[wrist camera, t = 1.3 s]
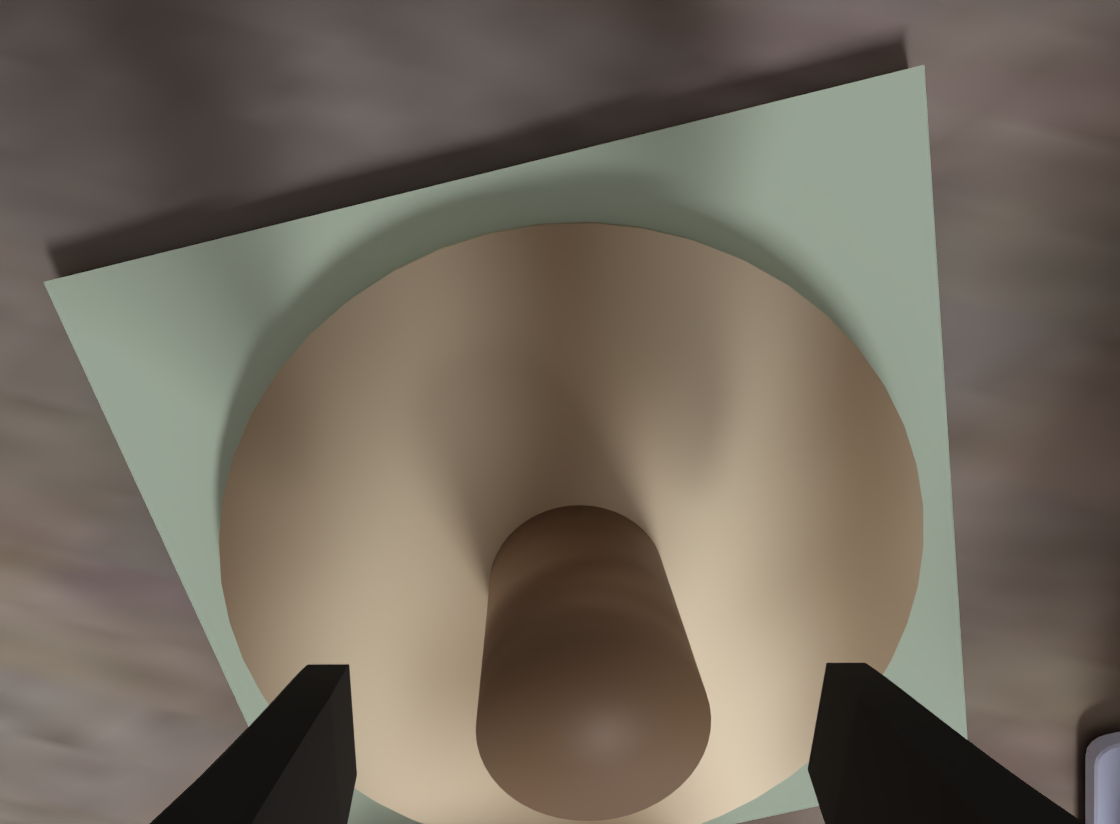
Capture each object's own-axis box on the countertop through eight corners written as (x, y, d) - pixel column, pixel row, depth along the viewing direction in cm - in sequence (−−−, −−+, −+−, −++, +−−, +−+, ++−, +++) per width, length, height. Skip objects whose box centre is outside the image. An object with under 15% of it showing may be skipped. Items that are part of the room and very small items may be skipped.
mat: (909, 68, 13) (924, 64, 13) (958, 757, 18) (969, 773, 18) (60, 278, 14) (42, 282, 13) (338, 891, 19) (333, 909, 18)
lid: (872, 138, 13) (1059, 121, 8) (926, 750, 17) (1068, 957, 13) (120, 322, 13) (-92, 401, 9) (359, 871, 18) (301, 1112, 13)
